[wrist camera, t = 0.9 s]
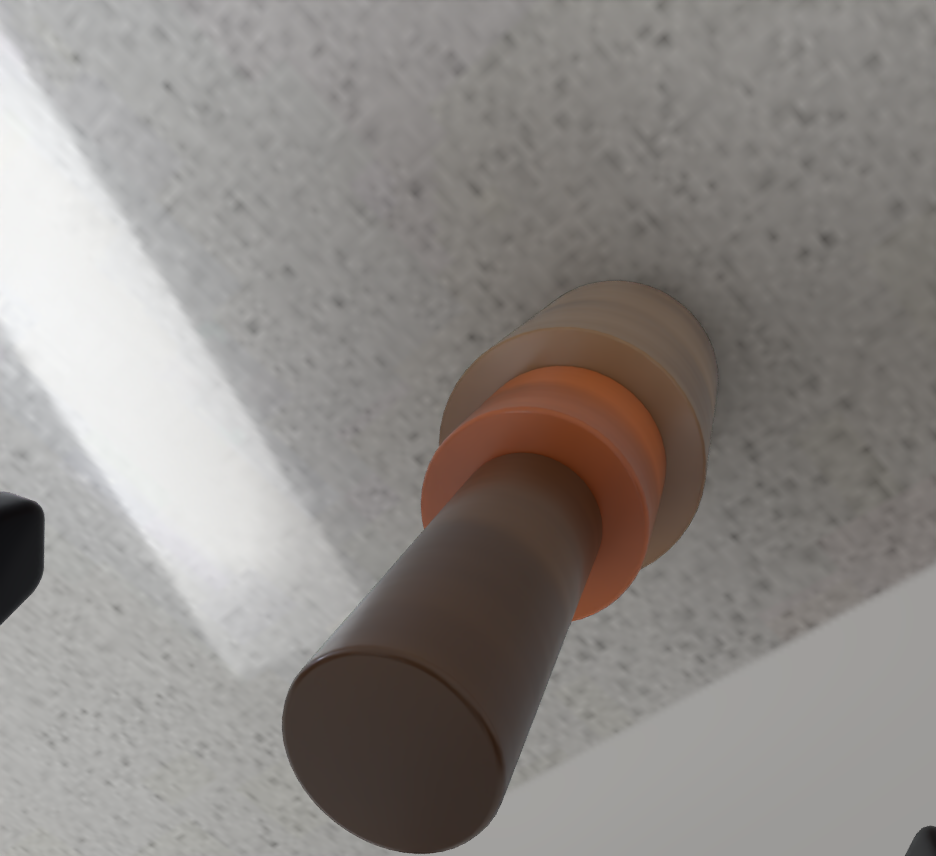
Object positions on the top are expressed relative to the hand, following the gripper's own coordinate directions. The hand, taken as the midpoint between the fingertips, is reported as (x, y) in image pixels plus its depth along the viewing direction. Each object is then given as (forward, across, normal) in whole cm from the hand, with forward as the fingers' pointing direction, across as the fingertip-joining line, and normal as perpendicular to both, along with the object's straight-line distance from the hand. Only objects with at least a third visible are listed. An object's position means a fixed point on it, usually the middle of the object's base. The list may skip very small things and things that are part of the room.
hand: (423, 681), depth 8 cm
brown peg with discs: (+6, 0, 0) cm, 6 cm away
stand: (+12, 0, 0) cm, 12 cm away
